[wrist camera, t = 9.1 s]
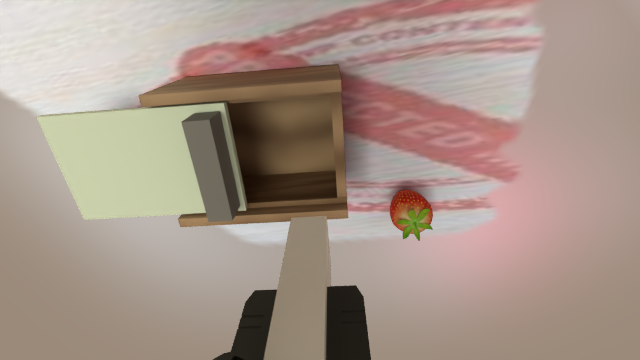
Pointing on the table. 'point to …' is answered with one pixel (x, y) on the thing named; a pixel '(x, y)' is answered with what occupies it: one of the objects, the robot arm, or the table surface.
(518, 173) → the table surface
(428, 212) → the fruit
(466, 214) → the table surface
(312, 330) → the robot arm
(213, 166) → the lid
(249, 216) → the box
